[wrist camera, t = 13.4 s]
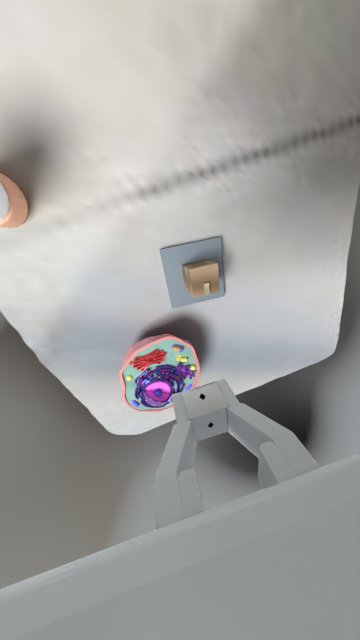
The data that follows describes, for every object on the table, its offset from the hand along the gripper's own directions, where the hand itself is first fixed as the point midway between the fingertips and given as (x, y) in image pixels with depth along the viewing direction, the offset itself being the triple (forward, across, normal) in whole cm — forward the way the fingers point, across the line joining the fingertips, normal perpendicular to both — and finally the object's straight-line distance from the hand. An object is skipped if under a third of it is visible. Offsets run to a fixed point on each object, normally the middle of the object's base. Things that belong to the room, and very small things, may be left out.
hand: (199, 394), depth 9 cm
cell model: (+29, +4, +18) cm, 35 cm away
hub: (+29, -8, 0) cm, 30 cm away
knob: (+28, -8, 0) cm, 29 cm away
